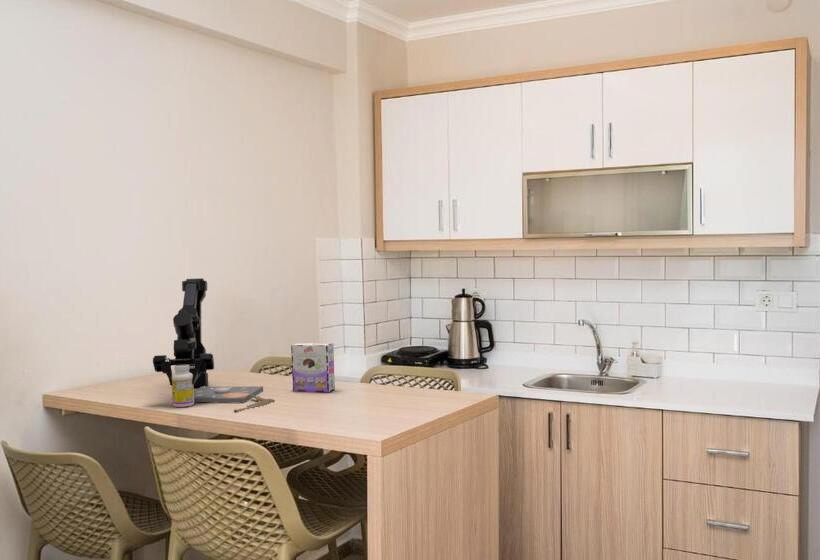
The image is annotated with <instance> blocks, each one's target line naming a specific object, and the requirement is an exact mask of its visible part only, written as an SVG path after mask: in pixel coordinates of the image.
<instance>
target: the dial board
mask: <svg viewBox="0 0 820 560" xmlns="http://www.w3.org/2000/svg"><path fill="white" fill-rule="evenodd" d="M260 392H261V393H262V392H264V386H205V387H200V388H195V390H194V402H242V403H241V404H245V403H246V402H248V401H250V400H251V399H253V398H252V397H251V396H250V395H254V396H255V395H256V396H257V395H259V394H261V393H260ZM250 398H251V399H250ZM249 399H250V400H249ZM247 400H248V401H247ZM244 402H245V403H244Z"/></svg>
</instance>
